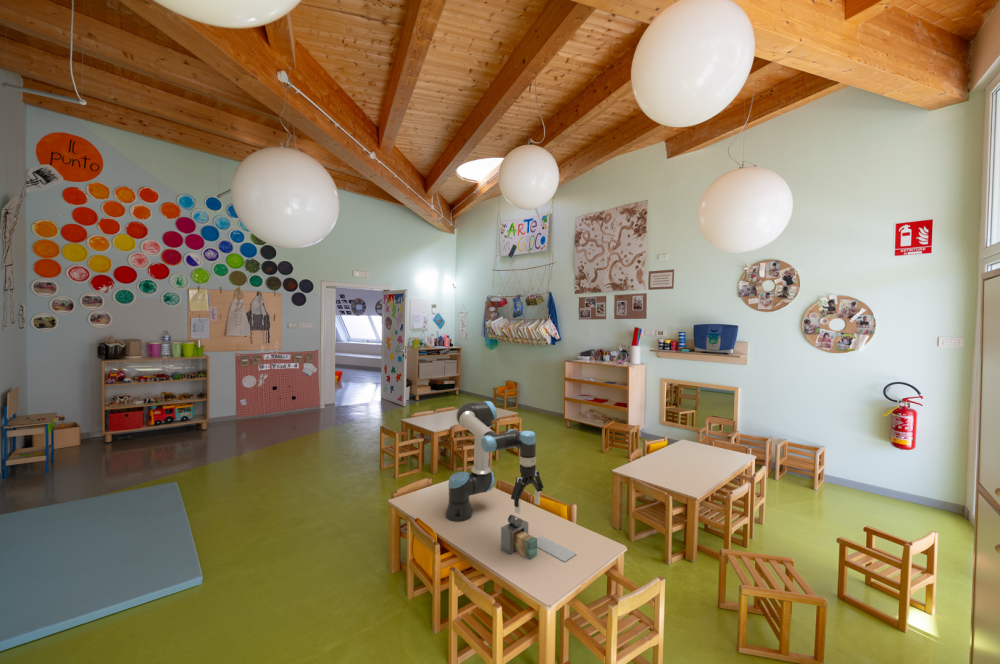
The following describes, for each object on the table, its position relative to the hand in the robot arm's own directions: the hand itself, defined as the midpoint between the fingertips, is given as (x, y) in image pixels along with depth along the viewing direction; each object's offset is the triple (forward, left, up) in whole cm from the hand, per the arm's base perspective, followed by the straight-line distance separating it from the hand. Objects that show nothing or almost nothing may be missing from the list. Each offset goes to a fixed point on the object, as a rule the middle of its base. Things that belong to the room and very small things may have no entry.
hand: (527, 508), depth 197 cm
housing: (-9, 0, -22) cm, 24 cm away
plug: (-5, 0, -22) cm, 23 cm away
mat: (+5, +12, -22) cm, 26 cm away
